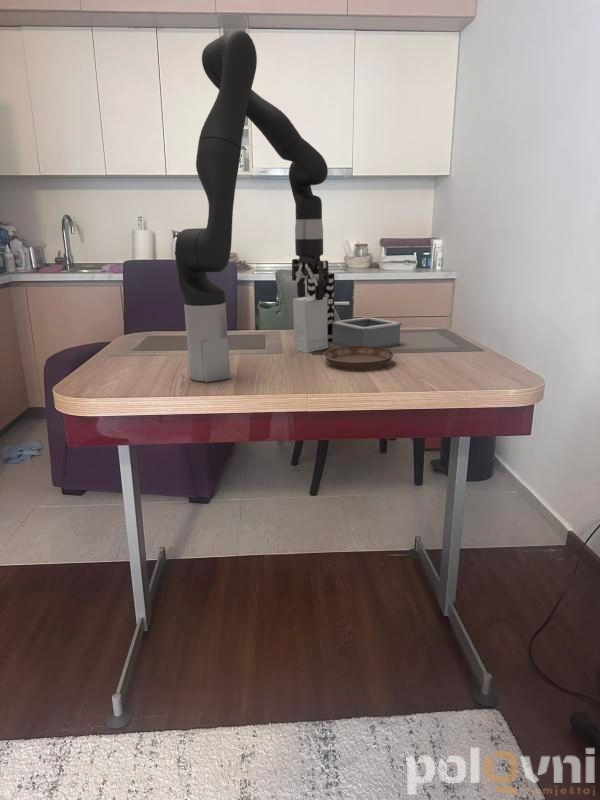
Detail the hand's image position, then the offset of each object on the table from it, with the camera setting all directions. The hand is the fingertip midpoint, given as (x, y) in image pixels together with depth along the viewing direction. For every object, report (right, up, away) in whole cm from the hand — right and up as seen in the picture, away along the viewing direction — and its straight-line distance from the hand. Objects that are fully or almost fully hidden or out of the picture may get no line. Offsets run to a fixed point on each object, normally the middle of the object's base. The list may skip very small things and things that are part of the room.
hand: (310, 298), depth 149 cm
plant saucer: (+12, -19, -12) cm, 26 cm away
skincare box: (0, -14, +4) cm, 15 cm away
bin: (+17, -12, +10) cm, 23 cm away
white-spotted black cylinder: (+4, -10, +18) cm, 20 cm away
